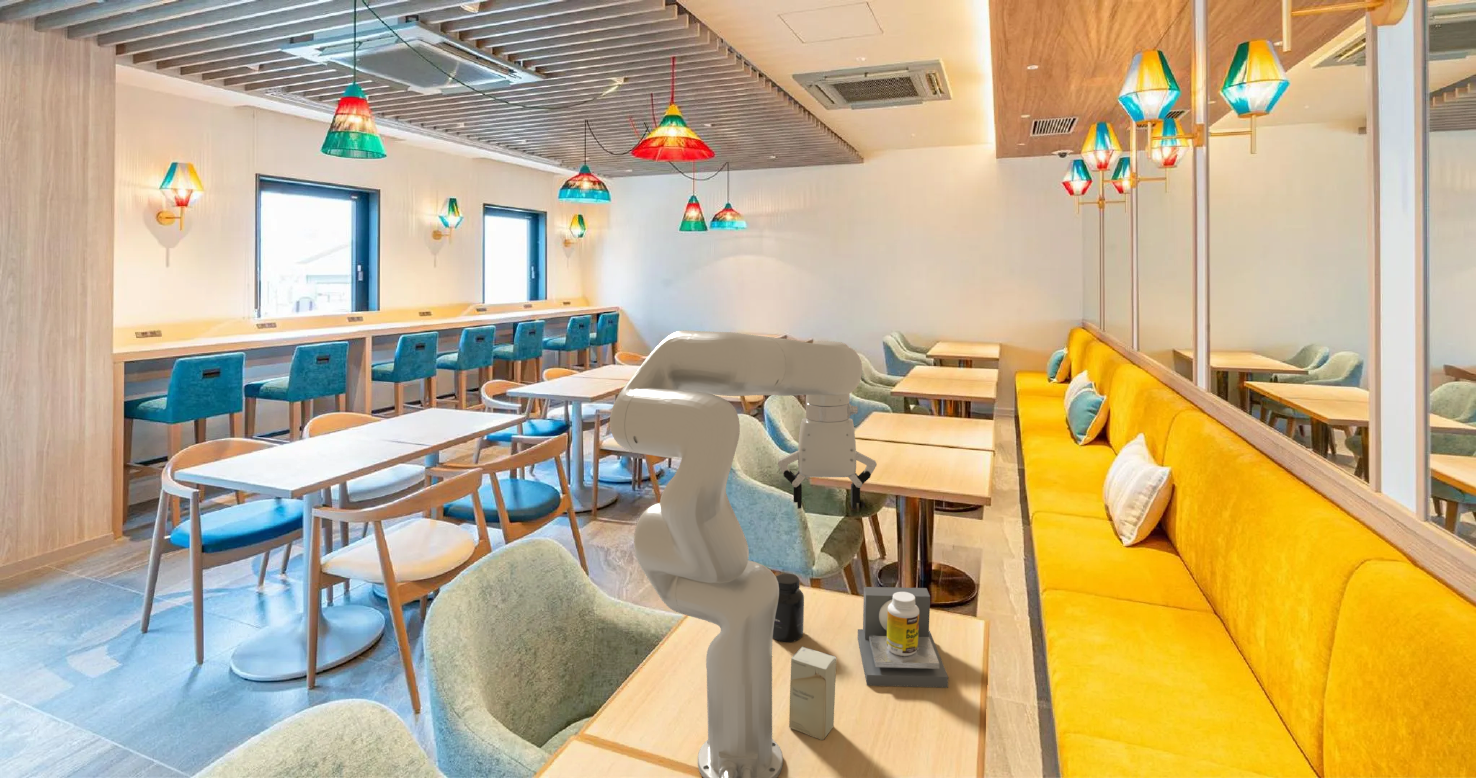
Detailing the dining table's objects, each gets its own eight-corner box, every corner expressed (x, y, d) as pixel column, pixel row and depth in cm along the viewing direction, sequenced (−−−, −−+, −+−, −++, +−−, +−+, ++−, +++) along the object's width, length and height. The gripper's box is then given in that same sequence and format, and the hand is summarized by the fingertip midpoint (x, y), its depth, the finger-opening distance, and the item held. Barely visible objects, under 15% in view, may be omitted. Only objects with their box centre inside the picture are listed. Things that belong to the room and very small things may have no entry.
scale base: (947, 687, 124) (950, 628, 123) (866, 685, 125) (868, 627, 123) (929, 640, 140) (931, 587, 138) (857, 638, 141) (858, 586, 139)
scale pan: (939, 673, 125) (939, 663, 124) (875, 672, 125) (875, 661, 125) (928, 646, 133) (929, 636, 133) (869, 645, 134) (869, 635, 134)
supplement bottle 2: (906, 661, 125) (908, 606, 123) (880, 649, 129) (881, 596, 127) (924, 649, 129) (925, 596, 127) (897, 637, 133) (899, 586, 131)
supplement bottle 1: (765, 640, 141) (765, 583, 139) (774, 623, 147) (774, 569, 145) (799, 645, 139) (800, 587, 137) (806, 628, 145) (807, 573, 143)
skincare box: (788, 728, 114) (788, 658, 112) (800, 713, 118) (801, 645, 116) (824, 741, 111) (825, 669, 109) (836, 725, 114) (837, 655, 112)
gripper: (874, 408, 128) (872, 500, 131) (778, 408, 129) (778, 499, 132) (880, 417, 120) (877, 514, 123) (777, 417, 121) (777, 513, 124)
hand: (826, 506), depth 127 cm, fingers open, 9 cm apart
